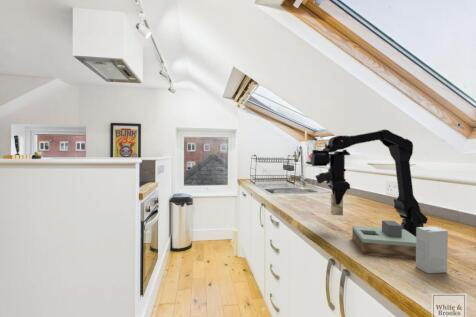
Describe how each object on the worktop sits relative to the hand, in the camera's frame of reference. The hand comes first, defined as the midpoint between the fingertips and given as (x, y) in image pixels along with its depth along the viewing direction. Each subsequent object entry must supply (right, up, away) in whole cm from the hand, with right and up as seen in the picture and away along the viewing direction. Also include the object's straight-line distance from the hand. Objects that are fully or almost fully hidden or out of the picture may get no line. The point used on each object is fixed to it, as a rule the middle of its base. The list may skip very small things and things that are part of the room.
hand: (336, 203), depth 96 cm
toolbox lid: (+11, -9, -15) cm, 20 cm away
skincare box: (+14, -14, -30) cm, 36 cm away
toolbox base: (+11, -13, -15) cm, 22 cm away
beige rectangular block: (0, -5, 0) cm, 4 cm away
